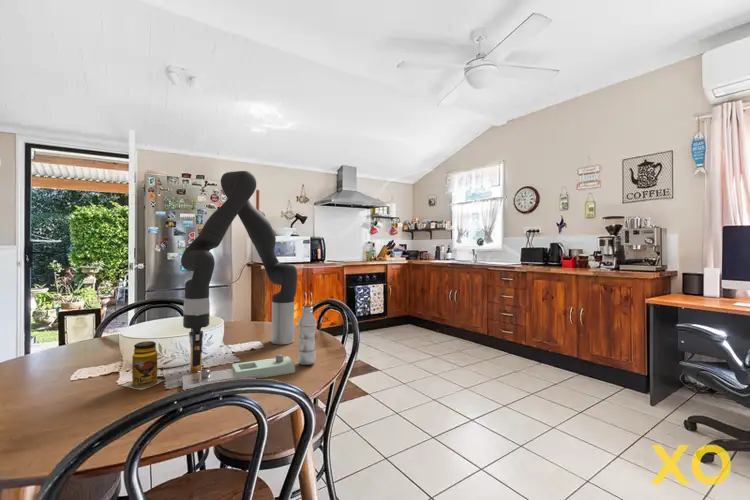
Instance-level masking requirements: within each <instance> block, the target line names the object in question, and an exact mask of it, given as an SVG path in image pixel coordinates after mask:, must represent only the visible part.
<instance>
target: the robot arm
mask: <svg viewBox="0 0 750 500" xmlns="http://www.w3.org/2000/svg"><path fill="white" fill-rule="evenodd" d="M220 186H221V190H222V192H223V194H224V195H225V197H226V198H227V199H226V200H225V201H224V202H223V204H221V206H219V207H218V208H217V209H216V210H215V211H214V212H213V213H212V214H211V215H210V216H209V217H208V219H207V220H206V222H205V223H204V225H203V227H202V228H201V230H200V232H199V234H198V235H197V237H196V238H195V239H194V240H193V241H192V242H190V244H189V245H188V246H187V247H186V248H185V250H184V251H183V253H182V255H181V259H180V263H181V266H182V268H183V269H184V270H186V271H188V272H192V277H191V279H188V280H187V281H185V284H184V300H183V314H182V315H183V318H182V324H183V325H182V327H183V329H184V328H185V329H190V331H189V332H188V338H189V345H190V349H191V348H192V355H193V358H192V366H193V367H195V366H200V359H201V353H203V350H202V349H203V346H204V345H203V343H204V342H203V339H204V331H203V330H201V329H203V328H206V327H209V325H210V314H211V313H210V309H211V308H210V307H211V305H210V304H211V303H210V284H211V280H212V278H213V273H214V270H215V264H216V263H215V262H216V261H215V257H214V255H213V253H211V252H210V251H211V250H213V249H217V248H218V247H219V246H220V244H221V243H222V240H223V239H224V237H225V235H226V233H227V232H228V229H229V228H230V226H231V224H232V222H233V221H234V220H235V219H236V217H237V215H238V217H239V219H240V221H241V223H242V224H243V226H244V228H245V231H246V232H247V235H248V237H249V239H250V240H251V242H252V244H253V246H254V248H255V250H256V252H257V254H258V256H259V258H260V260H261V262H262V265H263V268H264V270H265V273H266V275H267V278H268V280H269V281H270V282H271V284H273V285H277V286H280V290H279V291H278V292H276V293H274V294H272V297H271V335H270V337H271V340H270V341H271V344H274V345H289V344H292V343H294V340H295V339H294V338H295V337H294V335H295V334H294V333H295V298H296V294H297V288H298V287H297V285H298V270H297V267H296V266H295V265H294V264H291V263H281V262H280V261H279V259H278V258H277V256H276V253H275V252H276V251H275V249H276V242H277V241H276V240H277V239H276V238H277V237H276V233H275V231H274V229H273V227H272V224H271V223H270V221H269V220H268V218H267V217H265V215H264V214H262V212H260V211H259V210H258V209H257V208H256V207H255V206H254V204H252V202H251V201H250V199H251V197H252V196H253V195H254V193H255V191H256V189H257V179H256V176H255V175H254V174H253V173H252V172H250V171H248V170H236V171H226V172H225V173H223V174H222V176H221V178H220ZM197 347H199V350H195V348H197Z"/></svg>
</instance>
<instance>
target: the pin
mask: <svg viewBox="0 0 750 500" xmlns="http://www.w3.org/2000/svg"><path fill="white" fill-rule="evenodd" d="M195 350H199V347H197V348H195ZM202 353H203V352H202ZM202 353H201V359H200V366H195V367H193V366H192V358H193V355H192V348H191V347H190V359H189V360H190V366H189V367H190V368H189V371H190V372H198V371H201V370H202V358H203V357H202ZM198 373H199V372H198Z"/></svg>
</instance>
